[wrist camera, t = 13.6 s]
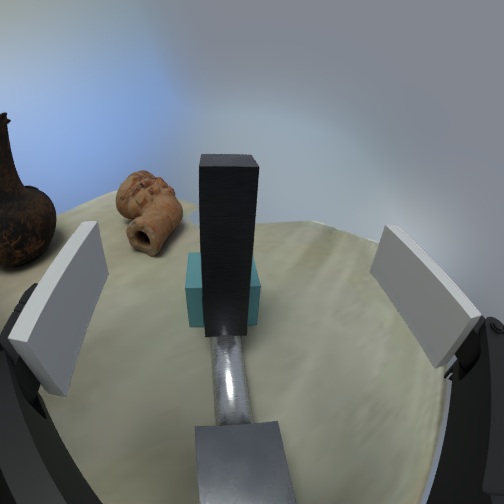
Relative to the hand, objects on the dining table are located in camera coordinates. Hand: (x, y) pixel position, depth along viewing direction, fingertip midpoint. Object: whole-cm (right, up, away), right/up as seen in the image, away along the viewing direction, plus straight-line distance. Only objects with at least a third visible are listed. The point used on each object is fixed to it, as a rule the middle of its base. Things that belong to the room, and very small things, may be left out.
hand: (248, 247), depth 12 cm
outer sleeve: (0, -20, +3) cm, 20 cm away
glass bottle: (-45, -1, +30) cm, 54 cm away
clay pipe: (-20, +4, +40) cm, 45 cm away
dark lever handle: (-2, -11, +15) cm, 19 cm away
